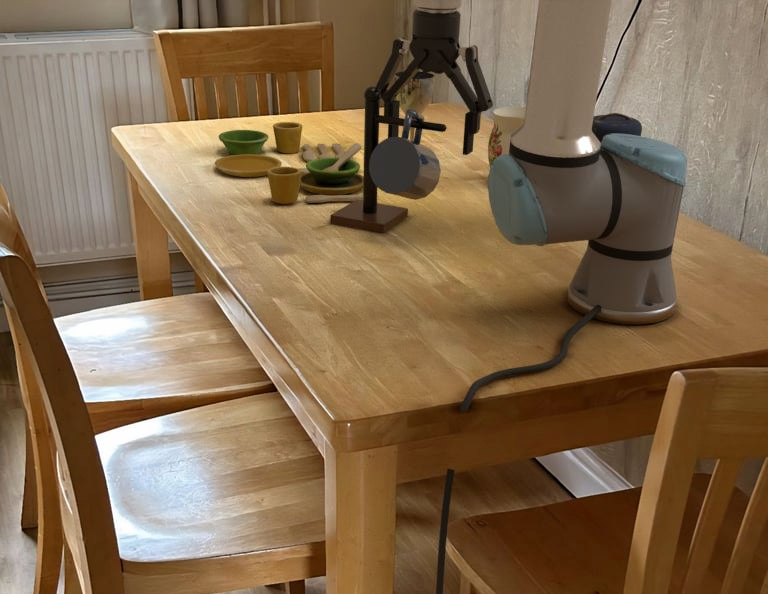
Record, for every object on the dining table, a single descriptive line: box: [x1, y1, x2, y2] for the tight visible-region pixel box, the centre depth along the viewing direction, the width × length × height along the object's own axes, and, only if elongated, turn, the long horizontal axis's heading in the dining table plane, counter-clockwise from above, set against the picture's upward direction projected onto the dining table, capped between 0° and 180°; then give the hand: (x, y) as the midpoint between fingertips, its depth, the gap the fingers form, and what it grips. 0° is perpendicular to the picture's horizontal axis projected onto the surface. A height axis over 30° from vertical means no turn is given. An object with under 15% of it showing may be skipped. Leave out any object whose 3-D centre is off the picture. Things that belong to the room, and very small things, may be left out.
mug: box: [369, 109, 442, 201], centre depth 169 cm, size 13×9×10 cm
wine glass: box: [394, 70, 435, 141], centre depth 216 cm, size 8×8×15 cm
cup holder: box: [330, 85, 447, 234], centre depth 174 cm, size 10×18×22 cm, turn 65°
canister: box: [592, 112, 643, 143], centre depth 181 cm, size 10×10×18 cm
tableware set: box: [214, 121, 364, 205], centre depth 202 cm, size 41×28×6 cm
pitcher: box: [487, 106, 526, 168], centre depth 199 cm, size 11×18×14 cm, turn 17°
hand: (429, 147), depth 177 cm, fingers open, 13 cm apart
